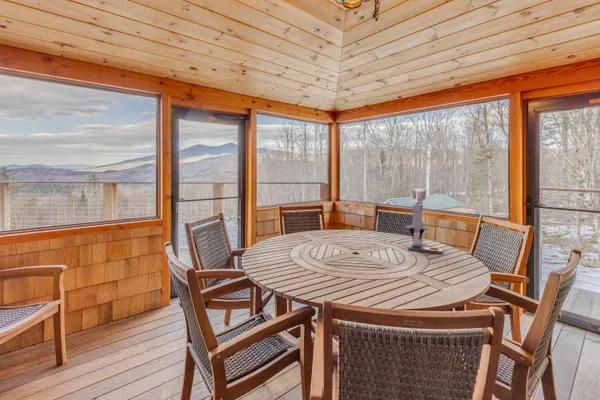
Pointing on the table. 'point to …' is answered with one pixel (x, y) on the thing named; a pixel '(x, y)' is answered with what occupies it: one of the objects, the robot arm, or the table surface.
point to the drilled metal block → (416, 238)
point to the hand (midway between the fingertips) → (416, 239)
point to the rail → (425, 249)
